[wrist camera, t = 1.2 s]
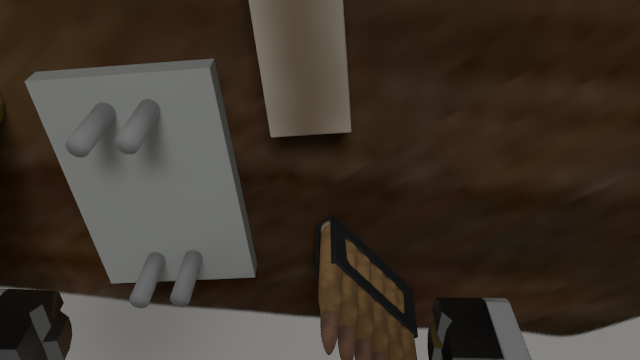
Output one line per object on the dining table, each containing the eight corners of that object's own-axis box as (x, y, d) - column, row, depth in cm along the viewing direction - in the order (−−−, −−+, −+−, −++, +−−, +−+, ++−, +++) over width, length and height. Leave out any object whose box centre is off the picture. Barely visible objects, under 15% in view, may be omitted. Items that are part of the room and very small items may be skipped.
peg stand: (214, 58, 34) (193, 100, 30) (257, 264, 45) (247, 321, 40) (35, 71, 35) (-14, 114, 30) (117, 270, 46) (90, 326, 41)
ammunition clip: (314, 225, 42) (307, 352, 32) (333, 213, 41) (330, 340, 32) (395, 299, 47) (409, 431, 37) (413, 290, 46) (432, 422, 36)
